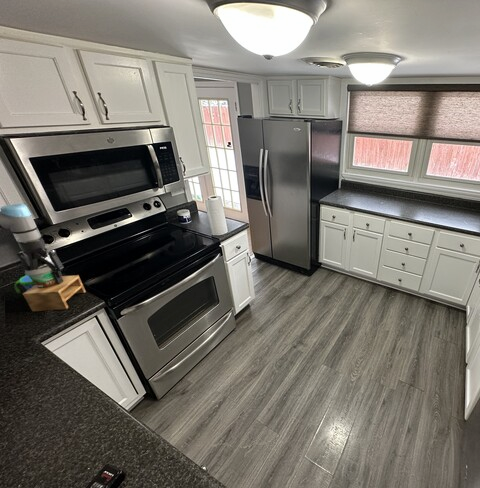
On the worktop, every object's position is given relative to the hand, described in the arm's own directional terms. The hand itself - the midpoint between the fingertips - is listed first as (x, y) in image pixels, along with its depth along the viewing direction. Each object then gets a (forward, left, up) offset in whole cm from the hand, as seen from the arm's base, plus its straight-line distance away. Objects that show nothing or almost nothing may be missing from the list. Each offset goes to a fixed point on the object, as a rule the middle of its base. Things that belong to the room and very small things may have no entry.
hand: (51, 283), depth 125 cm
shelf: (0, 0, -10) cm, 10 cm away
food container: (+1, 0, 0) cm, 1 cm away
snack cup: (-13, +8, -11) cm, 19 cm away
